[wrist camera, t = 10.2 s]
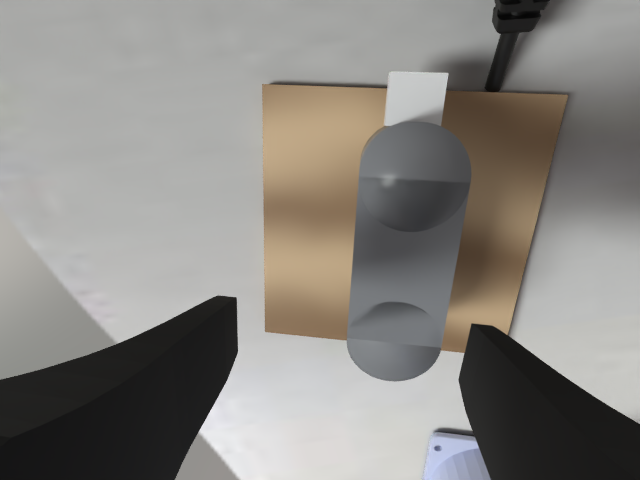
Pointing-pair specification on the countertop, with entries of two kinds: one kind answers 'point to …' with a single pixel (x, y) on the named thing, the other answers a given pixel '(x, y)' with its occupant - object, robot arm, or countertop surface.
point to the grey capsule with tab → (406, 231)
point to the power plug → (510, 33)
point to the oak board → (341, 201)
